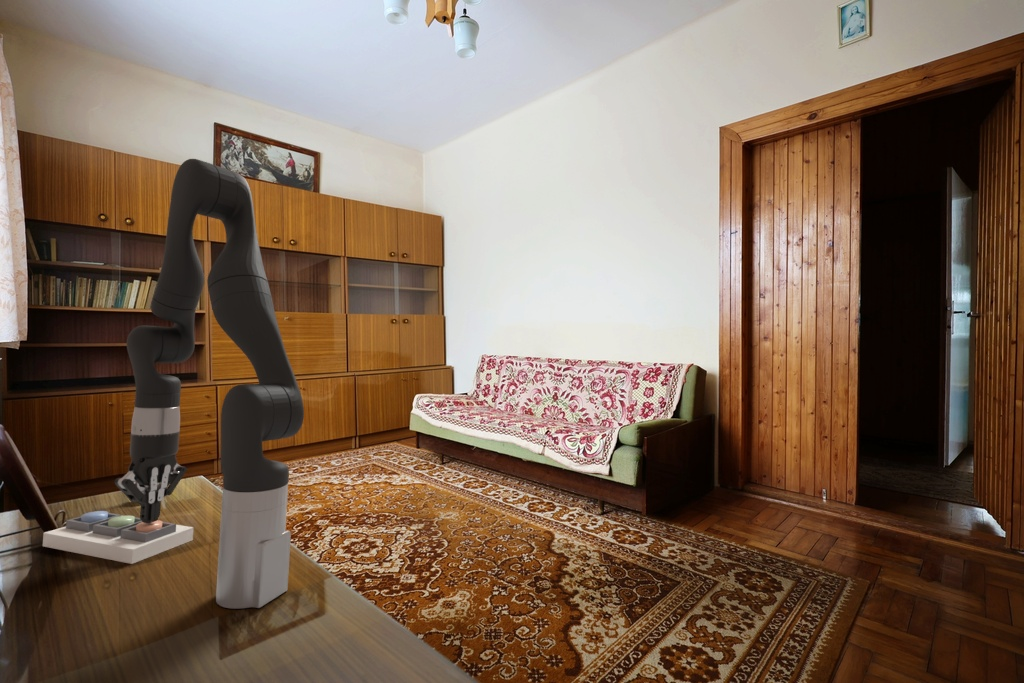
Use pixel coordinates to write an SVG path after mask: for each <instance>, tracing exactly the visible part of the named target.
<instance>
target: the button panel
mask: <svg viewBox="0 0 1024 683" xmlns="http://www.w3.org/2000/svg"><path fill="white" fill-rule="evenodd" d="M118 516H123V515H122V514H118V513H113V512H108V518H106V519H103V520H99V521H96V522H92V523H87V522H82V521H81V516H78V517H74V518H70V519H67V520H66V521H65V526H62V527H59V528H56V529H53V530H48V531H44V532H43V537H42V547H43V548H44V547H45V548H50V549H55V550H59V551H64V552H69V553H70V552H71V553H75V554H80V555H85V556H90V557H95V558H99V559H100V558H101V559H104V560H112V561H116V562H120V563H126V564H131V565H133V564H135V563H138V562H141V561H143V560H145V559H148V558H151V557H153V556H156V555H159V554H160V553H161V554H162V553H164V552H166V551H168V550H171V549H173V548H177V547H179V546H181V545H184V544H186V543H189V542H191V541H193V540H194V526H187V525H183V524H176V523H174V522H173V523H172V522H167V521H162V528H159V529H157V530H154V531H151V532H148V533H145V532H139V531H136V525H137V524H138V523H141V522H142V520H141V519H140V517H136V516H134V517H135V521H134V523H132V524H129V525H125V526H122V527H119V528H116V527H110V526H108V520H109V519H111V518H114V517H118Z"/></svg>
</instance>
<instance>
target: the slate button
mask: <svg viewBox="0 0 1024 683" xmlns="http://www.w3.org/2000/svg"><path fill="white" fill-rule="evenodd" d="M108 513H109V511H106V510H96V511H89V512H85V513H83V514H82V515H81V516H80V517H81V521H82V522H87V523H92V522H96V521H99V520H103V519H106V518H108Z"/></svg>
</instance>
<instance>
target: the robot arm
mask: <svg viewBox="0 0 1024 683" xmlns="http://www.w3.org/2000/svg"><path fill="white" fill-rule="evenodd" d="M253 201H254V200H253V196H252V191H251V188H250V185H249V183H248V181H247V180H246V178H245V177H244V176H243V175H241V174H239V173H238V172H236V171H233V170H229V169H228V168H225V167H221V166H218V165H216V164H213V163H210V162H207V161H204V160H201V159H197V158H189V159H187V160H184V161H183V162H182V163H181V165H179V167H178V170H177V171H176V174H175V177H174V180H173V183H172V190H171V196H170V202H169V203H170V204H169V209H168V217H167V226H166V237H165V244H164V252H163V254H164V255H163V260H162V264H161V268H160V273H159V275H158V278H157V282H156V286H155V289H154V293H153V297H152V300H151V302H150V311H151V313H152V314H153V315H155V316H156V317H158V318H159V319H162V320H164V321H168V322H172V323H173V324H172V325H173V326H172V327H171V326H160V325H159V326H158V325H147V324H146V325H138V326H136V327H134V328H133V329H131V331H130V332H129V334H128V336H127V338H126V339H127V340H126V350H127V354H128V358H129V361H130V364H131V368H132V372H133V377H134V383H135V396H134V397H135V398H134V409H133V414H132V416H131V417H132V418H131V426H130V427H131V429H130V441H129V442H130V444H129V445H130V446H129V457H130V459H131V461H130V464H129V466H128V469H127V470H128V471H127V473H126V474H124V475H123V476H122V477H117V478H115V479H114V485H115V486H116V487H117V488H118V490H120V491H121V492H122V493H123V494H124V495H125V497H126V498H127V499H128V500H129V501H131V502H132V503H133V502H134V503H135V502H136V503H140V508H139V509H140V510H139V512H140V513H139V518H140V519H141V520H142V522H143V523H152V522H155V521H157V520H159V517H160V515H161V508H162V506H161V505H162V504H161V503H162V501H163V499H164V498H165V497H166V496H170V495H172V493H174V490H175V489H176V488H177V486H178V485H179V483H180V482H181V480H182V479H183V477H184V476H185V474H186V473H187V469H188V468H187V466H182V465H180V464H179V463H178V459H177V457H176V454H177V453H178V452H179V444H180V443H179V442H180V431H181V430H180V429H181V411H180V409H181V408H180V406H181V391H182V390H181V389H182V384H181V380H180V379H179V377H177V376H173V375H169V374H165V373H164V374H163V373H160V372H158V371H157V368H156V366H155V363H156V364H181V363H184V362H186V361H187V360H188V359H190V358H191V357H192V355H193V353H194V351H195V347H196V346H195V345H196V342H195V318H196V311H197V308H198V305H199V301H200V298H201V295H202V293H203V288H204V284H205V275H204V270H203V269H204V268H203V266H202V263H201V262H202V261H201V260H200V257H199V254H198V252H197V247H196V245H195V240H194V234H193V233H194V226H195V225H194V224H195V221H196V217H197V216H198V215H199V216H204V217H207V218H211V219H215V220H220V221H221V223H222V225H223V226H224V230H225V238H226V242H225V244H224V247H223V249H222V251H221V252H220V253H219V255H218V257H217V258H216V259H215V261H214V263H213V265H212V267H211V268H210V270H209V273H208V276H207V279H206V281H207V290H208V295H209V301H210V304H211V310H212V313H213V316H214V318H215V321H216V322H217V324H218V325H219V327H220V328H221V329H222V330H223V332H224V333H225V334H226V336H228V338H230V340H231V341H232V342H233V343H234V344H235V345H236V346H237V347H238V348H239V349H240V350H241V351H242V353H244V356H246V358H247V359H248V360H249V361H250V364H251V366H252V367H253V369H254V371H255V375H256V377H257V380H258V383H242V384H236V385H234V386H233V387H231V389H229V390H228V391H227V393H226V395H225V396H224V399H223V401H222V405H221V412H220V413H221V414H220V466H221V467H220V468H221V473H222V478H223V479H222V480H223V481H222V496H221V498H222V499H221V512H220V525H219V526H220V527H219V543H218V544H219V545H218V557H217V558H218V560H217V575H216V576H217V577H216V590H215V602H216V605H219V607H222V608H224V609H225V608H227V609H233V610H236V609H249V608H255V609H256V608H257V609H260V608H262V607H263V606H265V605H266V604H268V603H269V602H271V601H273V600H274V599H276V598H278V597H279V596H280V595H282V594H284V593H285V592H287V591H288V586H289V571H290V554H291V553H290V552H291V535H292V533H291V531H290V530H288V529H286V525H287V511H288V510H287V509H288V494H289V492H288V491H289V477H290V476H289V474H290V468H289V467H288V465H287V464H286V463H284V462H282V461H278V460H274V459H273V460H272V459H269V458H267V457H265V456H264V450H263V442H268V441H275V440H276V441H277V440H282V439H287V438H288V439H289V438H291V437H294V436H295V435H296V434H297V433H298V432H300V430H301V429H302V426H303V423H304V419H305V407H304V402H303V397H302V393H301V391H300V387H299V385H298V381H297V379H296V375H295V373H294V371H293V370H294V369H293V367H292V366H291V365H292V364H291V363H290V359H289V357H288V354H287V351H286V349H285V348H286V347H285V345H284V342H283V339H282V334H281V332H280V327H279V324H278V320H277V315H276V312H275V306H274V302H273V301H274V300H273V297H272V293H271V288H270V285H269V284H270V283H269V281H268V278H267V274H266V272H265V267H264V263H263V259H262V258H263V257H262V254H261V248H260V244H259V239H258V234H257V232H258V231H257V227H256V226H257V224H256V218H255V217H256V216H255V209H254V202H253ZM156 490H157V491H156Z"/></svg>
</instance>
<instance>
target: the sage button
mask: <svg viewBox="0 0 1024 683" xmlns="http://www.w3.org/2000/svg"><path fill="white" fill-rule="evenodd" d="M135 517H136V516H135V515H122V516H118V517H114V518H111V519H109V520H108V526H110V527H116V528H119V527H122V526H125V525H129V524H132V523H134V521H135Z"/></svg>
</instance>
